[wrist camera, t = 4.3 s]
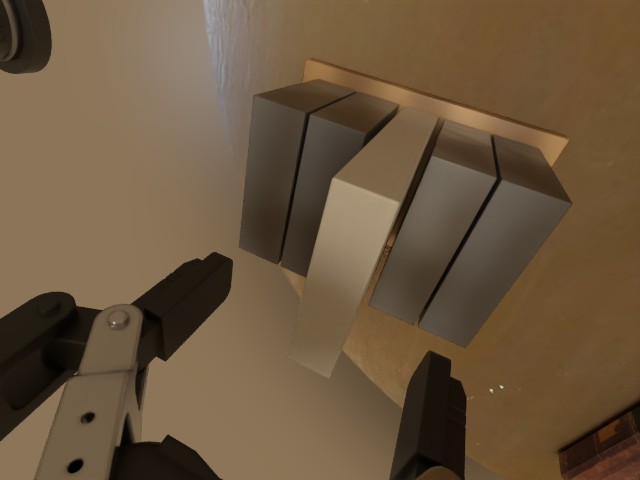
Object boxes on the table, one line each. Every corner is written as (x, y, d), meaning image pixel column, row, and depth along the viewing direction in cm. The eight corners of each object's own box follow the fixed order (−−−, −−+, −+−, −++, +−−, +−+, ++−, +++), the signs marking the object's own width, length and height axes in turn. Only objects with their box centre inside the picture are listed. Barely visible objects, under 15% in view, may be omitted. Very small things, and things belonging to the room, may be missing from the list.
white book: (363, 225, 29) (285, 357, 17) (405, 105, 23) (331, 177, 11) (390, 235, 29) (329, 379, 16) (439, 116, 23) (400, 203, 11)
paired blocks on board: (285, 198, 32) (222, 252, 24) (311, 57, 25) (234, 66, 17) (476, 275, 28) (477, 367, 20) (566, 135, 22) (620, 193, 14)
